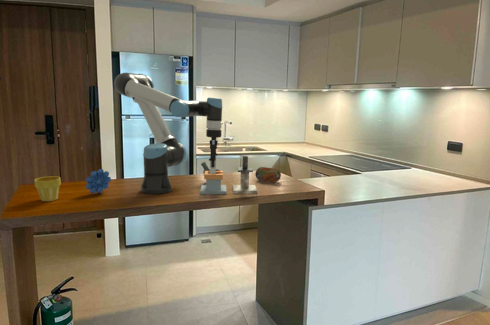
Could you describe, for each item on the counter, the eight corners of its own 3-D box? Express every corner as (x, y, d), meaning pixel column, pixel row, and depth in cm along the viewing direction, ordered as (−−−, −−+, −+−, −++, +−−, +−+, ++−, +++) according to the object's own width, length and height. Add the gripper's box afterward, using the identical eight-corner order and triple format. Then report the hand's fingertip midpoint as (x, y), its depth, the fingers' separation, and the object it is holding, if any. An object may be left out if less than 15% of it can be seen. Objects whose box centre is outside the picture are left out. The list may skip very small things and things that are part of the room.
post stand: (233, 193, 179) (233, 158, 176) (232, 187, 191) (233, 154, 188) (257, 193, 180) (258, 158, 177) (254, 187, 192) (255, 154, 188)
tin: (255, 180, 209) (255, 166, 207) (257, 179, 211) (257, 165, 210) (279, 183, 202) (280, 169, 201) (281, 182, 205) (281, 168, 204)
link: (204, 179, 177) (204, 174, 177) (205, 175, 186) (205, 170, 186) (222, 179, 178) (222, 174, 177) (222, 175, 187) (222, 170, 186)
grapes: (110, 189, 180) (109, 166, 178) (112, 193, 175) (111, 169, 173) (85, 192, 175) (83, 168, 173) (86, 195, 169) (85, 171, 167)
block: (200, 194, 176) (200, 180, 175) (201, 187, 189) (201, 174, 188) (226, 194, 177) (226, 180, 176) (226, 187, 190) (226, 174, 189)
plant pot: (33, 199, 162) (31, 178, 160) (57, 195, 169) (56, 175, 167) (39, 204, 154) (38, 182, 153) (65, 199, 162) (63, 178, 160)
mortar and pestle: (218, 180, 207) (218, 159, 205) (222, 184, 198) (222, 162, 196) (199, 181, 203) (199, 160, 201) (202, 185, 195) (202, 163, 192)
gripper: (221, 131, 166) (220, 176, 170) (221, 127, 190) (220, 166, 194) (205, 131, 165) (204, 175, 169) (207, 126, 190) (206, 165, 194)
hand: (212, 170), depth 182 cm, fingers open, 13 cm apart
